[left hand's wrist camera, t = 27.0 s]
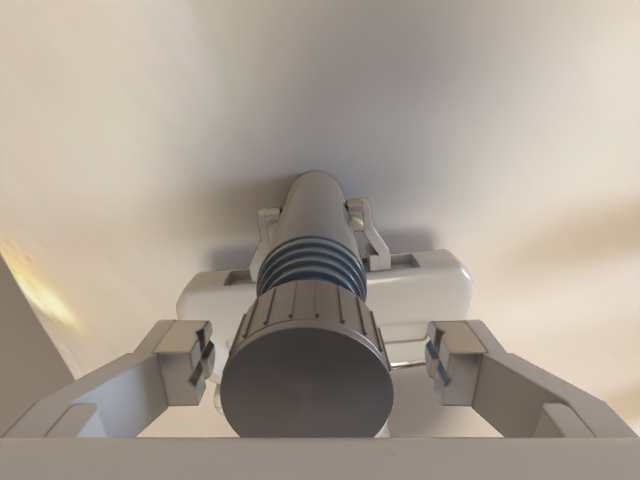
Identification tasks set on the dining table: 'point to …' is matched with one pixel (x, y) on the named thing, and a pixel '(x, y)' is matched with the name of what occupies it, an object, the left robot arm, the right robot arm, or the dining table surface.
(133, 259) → the dining table surface
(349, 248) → the bottle
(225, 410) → the cap
